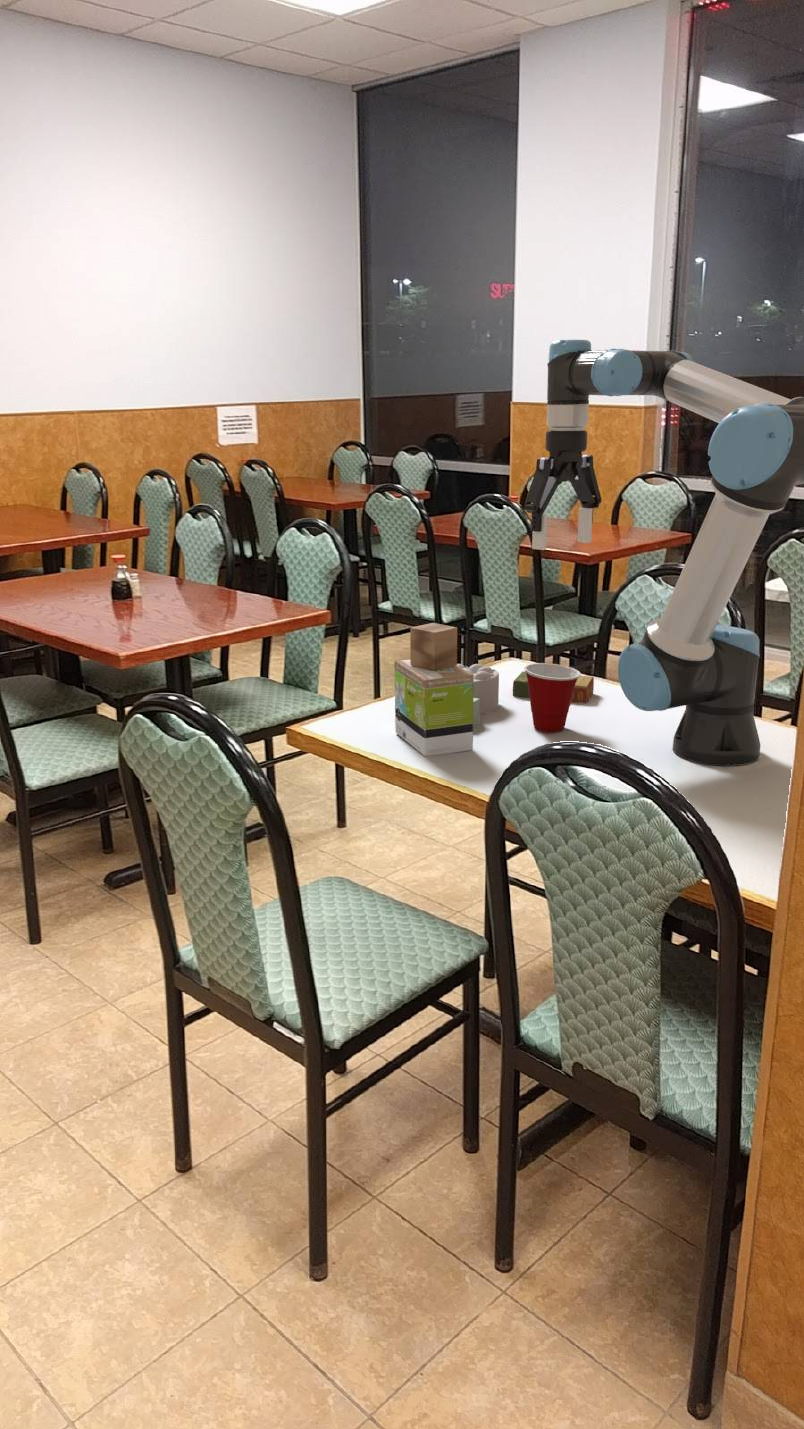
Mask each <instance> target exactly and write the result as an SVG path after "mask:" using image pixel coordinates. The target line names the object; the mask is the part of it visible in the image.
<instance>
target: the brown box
mask: <svg viewBox="0 0 804 1429" xmlns="http://www.w3.org/2000/svg"><path fill="white" fill-rule="evenodd" d="M409 629H410V638H409V639H410V641H409V642H410V648H409V650H410V659H409V660H410V665H412V666H416V667H420V668H424V669H428V670H432V671H436V670H440V669H444V668H448V667H452V666H456V665H457V664H458V627H457V626H456V627H455V626H450V625H445V624H443V623H442V624H440V623H437V622H430V623H426V624H423V625H421V624H420V625H418V626H413V627H410V628H409Z"/></svg>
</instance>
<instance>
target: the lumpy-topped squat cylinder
mask: <svg viewBox="0 0 804 1429" xmlns="http://www.w3.org/2000/svg"><path fill="white" fill-rule="evenodd" d="M457 666H459V667H461V668H463V669H464V670H466V671H468V672H469V673H471V674H473V675H474V692H473V698H478V699H480V710H479V716H481V714H482V715H486V714H490V713H493V712H495V711H496V710H497V709H498V708H499V691H500V690H499V689H500V686H499V685H500V673H499V672H498V670H496V669H494V668H491V667H490V666H488V665H487V666H486V665H485V666H484V665H482V664H479V663H475V664H474V663H473V664H472V665H470V666H465V665H463V663H457ZM492 711H493V712H492ZM489 712H490V713H489ZM485 713H486V714H485Z"/></svg>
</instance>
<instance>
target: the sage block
mask: <svg viewBox="0 0 804 1429" xmlns="http://www.w3.org/2000/svg"><path fill="white" fill-rule="evenodd" d="M479 710H480V699H478V698H473V727H474V726H476V725H478V724H479V723H480V715H479Z"/></svg>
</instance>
